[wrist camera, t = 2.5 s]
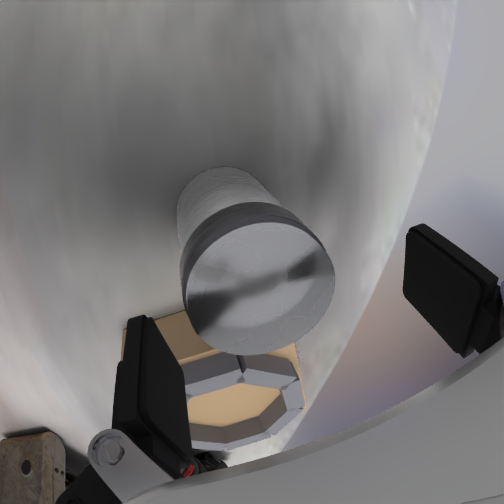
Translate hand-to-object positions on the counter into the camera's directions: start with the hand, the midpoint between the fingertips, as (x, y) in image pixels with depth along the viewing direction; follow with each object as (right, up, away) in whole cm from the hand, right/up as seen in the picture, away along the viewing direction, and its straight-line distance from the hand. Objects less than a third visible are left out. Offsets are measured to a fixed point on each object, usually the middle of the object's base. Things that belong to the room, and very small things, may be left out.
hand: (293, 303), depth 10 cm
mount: (-4, -6, +12) cm, 14 cm away
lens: (-3, +4, +6) cm, 8 cm away
